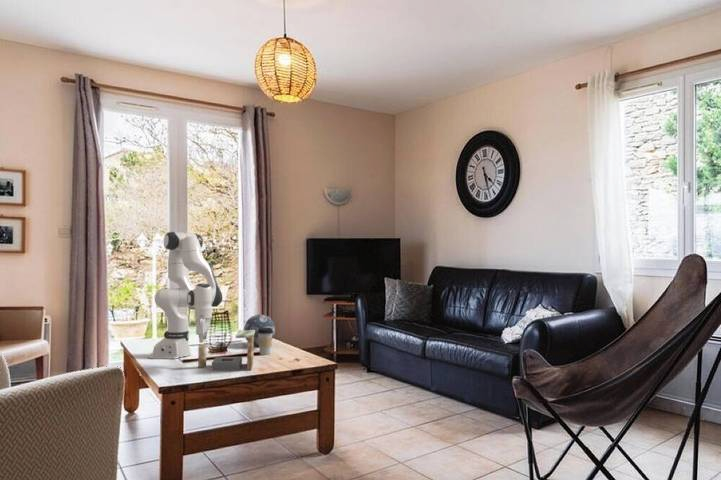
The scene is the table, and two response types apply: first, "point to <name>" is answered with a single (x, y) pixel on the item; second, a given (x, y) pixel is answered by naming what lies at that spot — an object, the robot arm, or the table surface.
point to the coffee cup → (265, 340)
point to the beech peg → (202, 356)
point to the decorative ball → (259, 325)
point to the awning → (250, 349)
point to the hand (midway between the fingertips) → (202, 340)
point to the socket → (227, 363)
